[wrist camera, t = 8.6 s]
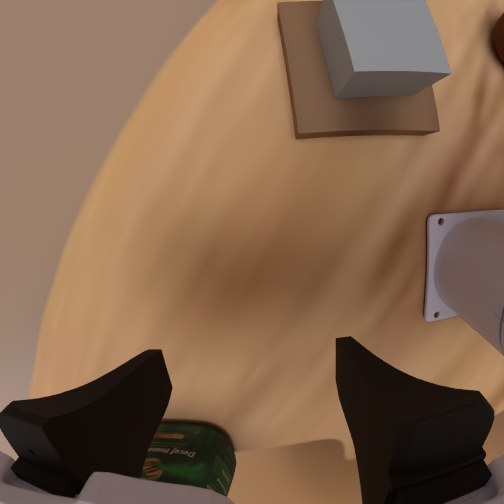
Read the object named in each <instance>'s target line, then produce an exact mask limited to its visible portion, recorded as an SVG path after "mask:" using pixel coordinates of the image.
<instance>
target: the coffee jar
mask: <svg viewBox="0 0 504 504" xmlns="http://www.w3.org/2000/svg"><path fill="white" fill-rule="evenodd" d="M235 467H236V458H235V454H234V451H233V448H232V446H231V444H230V442H229V441H228V439H227V438H226V437H225V436H224V435H223V434H222V433H220V432H219V431H217V430H216V429H214V428H212V427H209V426H205V425H197V424H185V423H160V424H159V427H158V429H157V431H156V433H155V435H154V438H153V440H152V442H151V444H150V447H149V449H148V452H147V456H146V459H145V463H144V466H143V470H142V474H141V478H140V479H145V480H151V481H157V482H164V483H171V484H179V485H189V486H194V487H199V488H204V489H209V490H212V491H215V492H217V493H219V494H221V495H224V496H226V497H227V495H228V492H229V489H230V486H231V483H232V480H233V476H234V472H235Z"/></svg>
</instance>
